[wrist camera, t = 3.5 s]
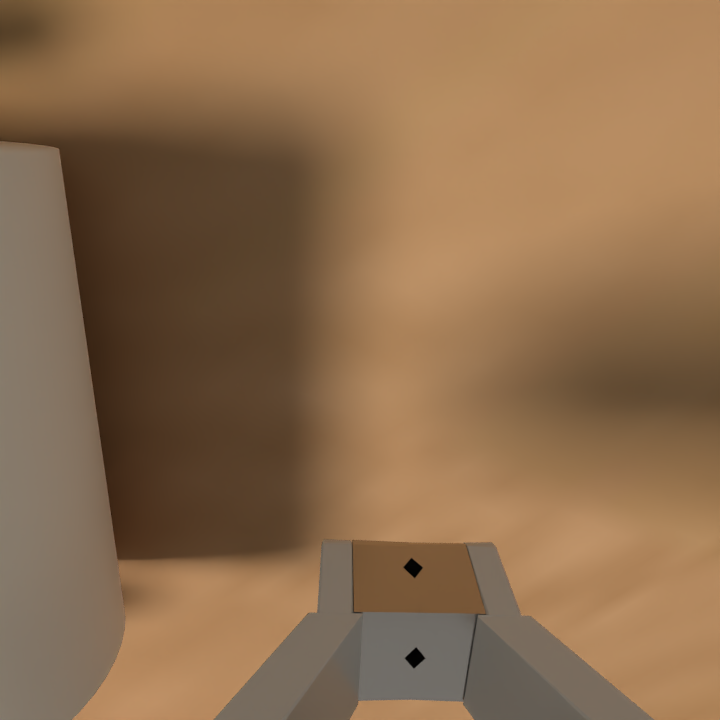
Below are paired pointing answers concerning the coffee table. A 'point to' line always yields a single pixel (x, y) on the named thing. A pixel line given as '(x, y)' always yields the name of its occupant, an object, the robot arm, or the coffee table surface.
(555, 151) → the coffee table surface
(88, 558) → the roll
